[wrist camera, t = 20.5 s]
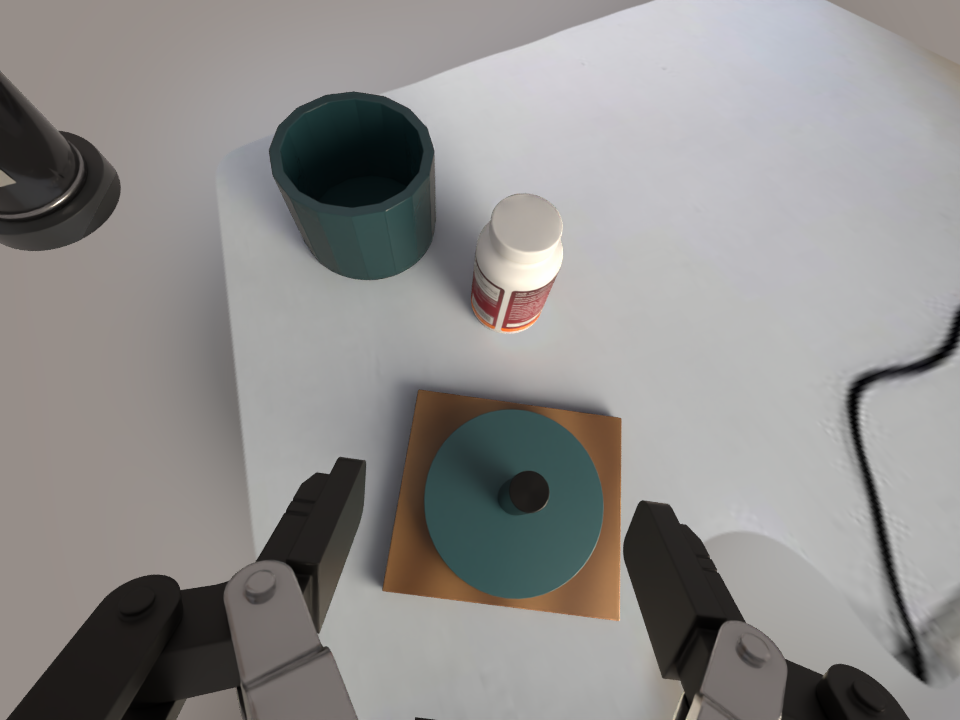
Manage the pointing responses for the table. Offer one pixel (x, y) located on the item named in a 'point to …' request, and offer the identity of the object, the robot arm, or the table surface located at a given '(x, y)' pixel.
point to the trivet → (419, 561)
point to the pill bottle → (516, 263)
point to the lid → (513, 504)
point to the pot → (358, 182)
